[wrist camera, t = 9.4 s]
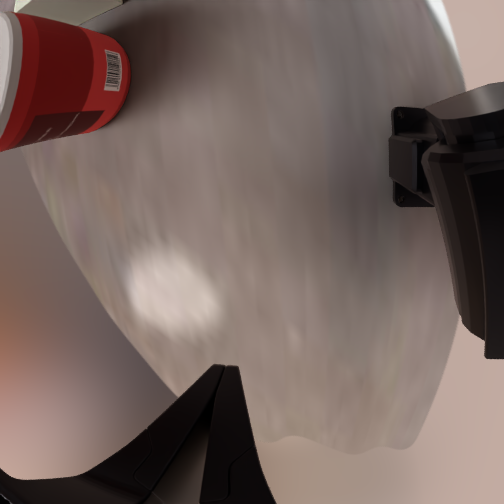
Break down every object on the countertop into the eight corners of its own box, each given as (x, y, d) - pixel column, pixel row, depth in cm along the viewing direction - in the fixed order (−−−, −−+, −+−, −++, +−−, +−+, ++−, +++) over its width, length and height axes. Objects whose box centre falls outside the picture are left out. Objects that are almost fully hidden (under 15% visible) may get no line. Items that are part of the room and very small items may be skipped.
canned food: (98, 20, 14) (-9, -8, 4) (155, 75, 16) (34, 51, 6) (45, 93, 17) (-60, 106, 7) (92, 152, 19) (-25, 190, 9)
